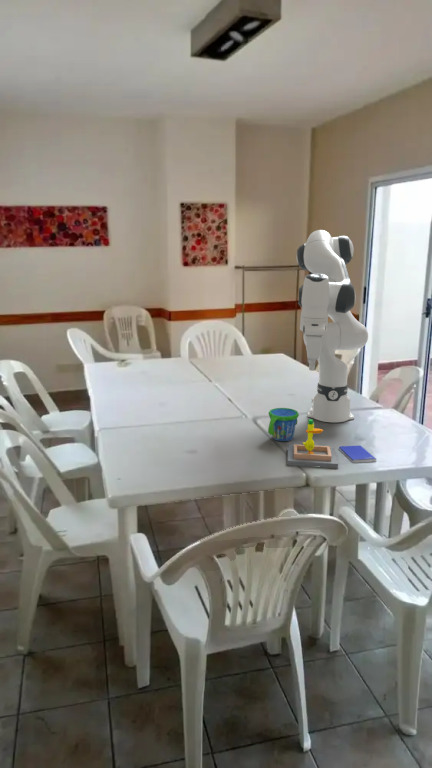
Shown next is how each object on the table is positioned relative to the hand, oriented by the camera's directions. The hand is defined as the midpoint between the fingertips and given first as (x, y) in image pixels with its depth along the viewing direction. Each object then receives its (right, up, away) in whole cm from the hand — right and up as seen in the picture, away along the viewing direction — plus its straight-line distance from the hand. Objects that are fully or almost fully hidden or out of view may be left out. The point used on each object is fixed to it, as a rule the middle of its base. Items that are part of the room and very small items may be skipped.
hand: (311, 366), depth 187 cm
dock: (0, -31, +1) cm, 31 cm away
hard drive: (+16, -31, +4) cm, 35 cm away
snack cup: (-7, -26, +19) cm, 33 cm away
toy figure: (0, -29, 0) cm, 29 cm away
